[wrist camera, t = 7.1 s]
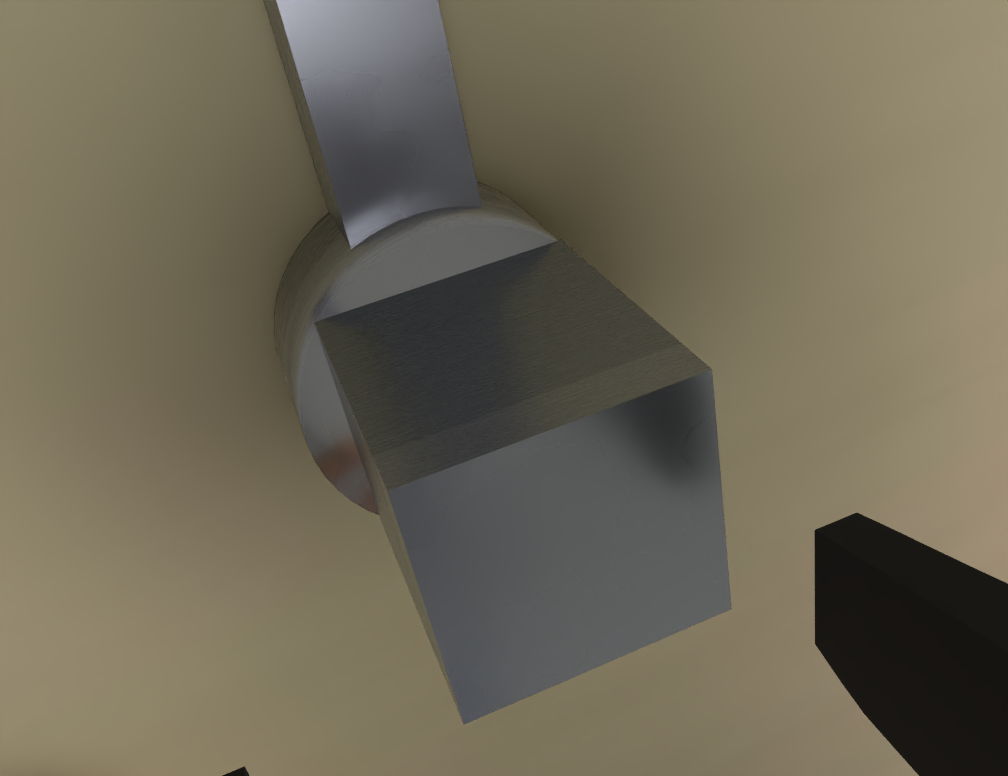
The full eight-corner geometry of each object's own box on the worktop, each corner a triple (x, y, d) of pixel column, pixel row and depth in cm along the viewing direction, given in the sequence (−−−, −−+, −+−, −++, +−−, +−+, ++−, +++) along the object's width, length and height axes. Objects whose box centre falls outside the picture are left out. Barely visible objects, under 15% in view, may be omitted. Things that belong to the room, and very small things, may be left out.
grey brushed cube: (595, 443, 19) (731, 608, 15) (382, 524, 18) (463, 724, 14) (560, 239, 16) (711, 369, 12) (313, 322, 15) (387, 491, 11)
